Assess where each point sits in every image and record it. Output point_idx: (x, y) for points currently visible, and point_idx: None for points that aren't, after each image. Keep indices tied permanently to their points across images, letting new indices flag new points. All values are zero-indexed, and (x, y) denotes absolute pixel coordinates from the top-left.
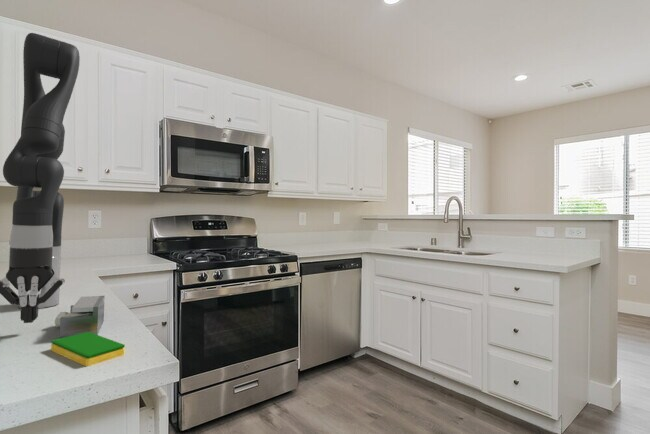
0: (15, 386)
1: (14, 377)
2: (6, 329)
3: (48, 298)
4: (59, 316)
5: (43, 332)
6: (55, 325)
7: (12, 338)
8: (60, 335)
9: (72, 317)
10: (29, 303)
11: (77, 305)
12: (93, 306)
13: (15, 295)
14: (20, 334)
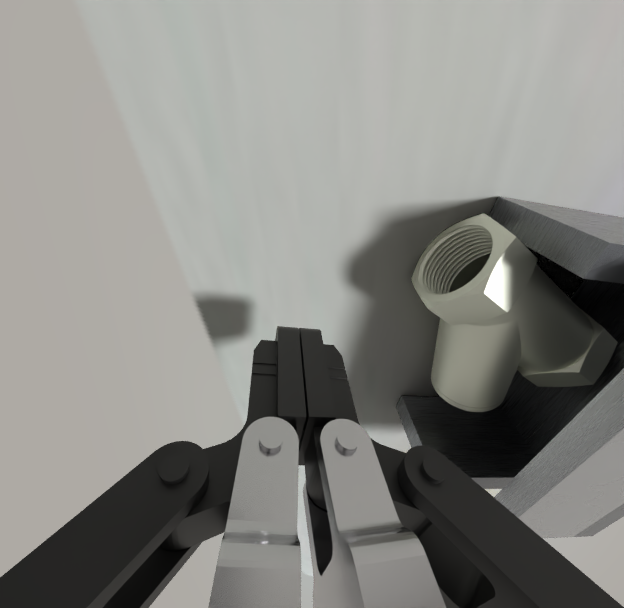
0: (309, 558)
1: (303, 543)
2: (144, 158)
3: (447, 478)
4: (453, 314)
5: (351, 313)
6: (412, 282)
7: (239, 350)
8: (402, 418)
9: None
10: (304, 496)
11: (539, 513)
12: (579, 533)
13: (148, 541)
14: (258, 305)
